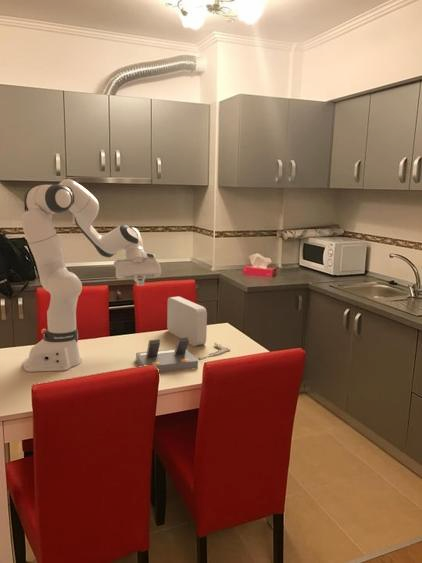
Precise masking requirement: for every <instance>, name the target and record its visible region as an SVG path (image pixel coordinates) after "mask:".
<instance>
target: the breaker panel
mask: <svg viewBox="0 0 422 563" xmlns="http://www.w3.org/2000/svg"><path fill="white" fill-rule="evenodd" d="M175 349H176V348H171V349H170V348H169V349H161V350H160V349H159V350H158V357H150V358H146V354H147V351H142V352H136V353H135V360H136V362H137V364H138V366H139V367H140V366H144V365H155V366H156V367H157V368H158V369H159V372H160V373H169V372H178V371H186V369H187V370H192V368H195V369H198V368H199V359H197V357H195V356H194V355H193V354H192V352H190V350H189V349H188V348H187V349H186V352H185V354H179V355H174V351H175ZM160 373H159V374H160Z"/></svg>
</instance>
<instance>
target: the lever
mask: <svg viewBox="0 0 422 563" xmlns="http://www.w3.org/2000/svg"><path fill="white" fill-rule="evenodd" d="M177 338H178V339H177V343H176V346H175V348H174V349H175V351H174V355H179V354H185V352H186V349H188V345H189V343H188V342H189V340H188V338H179V337H177Z"/></svg>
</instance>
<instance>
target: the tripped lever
mask: <svg viewBox="0 0 422 563" xmlns="http://www.w3.org/2000/svg"><path fill="white" fill-rule="evenodd" d="M160 344H161V342H160V339H151V340H149V341H148V345H147V351H146V352H147V354H146V358H150V357H158V351H159V350H160Z"/></svg>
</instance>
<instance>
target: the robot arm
mask: <svg viewBox="0 0 422 563" xmlns="http://www.w3.org/2000/svg"><path fill="white" fill-rule="evenodd" d="M23 206H24V207H23V208H24V209H23V210H24V211H25V212H24V213H23V214H22V216H21V219H20V220H21V225H22V229H23V233H24V236H25V239H26V241H27V244H28V246H29V249H30V252H31V254H32V255H33V258H34V261H35V265H36V269H37V273H38V277H39V282H40V285H41V286H42V288H43V289H44V290H45V291H47V293H49V295H50V301H49V306H48V309H47V312H46V317H47V318H46V319H47V329H46V328H42V329H41V334H42V339H41V340H40V341H39V342H37V343H36V344H35V345H33V346H32V347H31V348H30V351H29V354H28V357H27V358H26V359H24V360H23V362H22V363H23V364H22V367H23V370H24V371H26V372H29V373H31V372H32V373H33V372H57V371H58V372H59V371H68V370H69V369H71V368H73V367H75V366H78V365H80V363H81V362H82V357H81V354H80V351H79V345H78V340H79V332H78V331H79V330H78V327H77V305H78V302H79V301H78V299H79V296H80V295H81V293H82V291H83V290H82V289H83V284H82V283H83V282H82V281H81V279H80V278H79V277H78V276H77V274H75V273H74V272H72V271H69V270H68V268H67V267H66V263H65V260H64V259H65V258H64V254H65V253H64V249H63V247H62V244H61V242H60V238H59V236H58V234H57V231H56V229H55V226H54V224H53V220H52V219H53V215H55V214H62V213H65V212H66V211H69V212H71V213H72V214H73V215H74V224H75V225H76V226H77V228H78V230H79V231H80V232H81V233H82V234H83V235H84V236H85V238H87V240H88V241H89V242H90V243H91V245H93V246H94V248H95V249H96V252H97V253H98V254H99V255H100V256H102V257H104V258H112V257H113V256H114V255H116V254H117V253H119V252H121V251H123V250H125V259H117V260H115V261H114V262H113V266H114V268H115V277H116V279H118V280H123V279H127V280H128V279H133V280H134V282H135V283H136V284H137V287H139V286H145V281H146V278H147V279H148V278H159V277H160V276H161V275H162V268H161V267H162V266H161V265H160V262H159V261H158V259H157V256H156V254H154V253H149V252H146V251H145V250H144V243H143V242H144V241H143V238H142V236H141V232H140V231H139V229H138V228H136V227H131V226H128V225H127V224H121V225H119V226H116V227H115V228H113V229H112V230H111V231H109V232H107V233H105V234H100V233H99V232H98V231H97V230H96V229H95V227H93V225H92V224H93V222H94V221H95V220H96V218H97V217H98V214H99V211H100V204H99V201H98V199H97V198H96V196H95V195H93V193H91V192H90V191H89V190H88V189H86V187H84V186H83V185H81V183H80V184H79V182H77V181H75V180H73V179H69V178H66V179H64V180H63V179H62V181H60V182H59V183H58V184H40V185H37V186H36V185H34V186H32V187H29V188H28V189H27V190H26V191H25V192H24V194H23ZM139 279H141V280H139Z"/></svg>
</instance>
